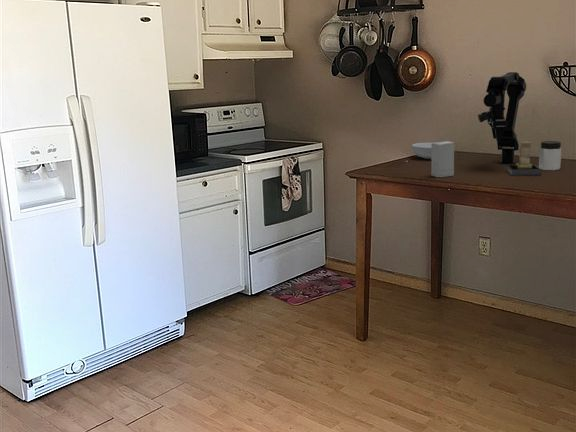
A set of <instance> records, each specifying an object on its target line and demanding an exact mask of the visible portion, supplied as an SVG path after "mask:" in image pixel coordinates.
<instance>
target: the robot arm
mask: <svg viewBox="0 0 576 432" xmlns="http://www.w3.org/2000/svg"><path fill="white" fill-rule="evenodd" d="M526 91H527V83H526V80H525V79H524V78H523V77H522V76H520V74H519V72H513V71H510V72H507V73H505V74H503V75H501V76H491V77H490V79H489V81H488V83H487V88H486V91H485V92H486V93H487V94H486V95H485V96H484V98H483V104H484V106H485V107H488V108H489V109H488V110H487V111H483V112H481V113H479V114H477V115H476V116H477V118H478V121H479V123H483V122H485V121H486V122H487V124H488V125H489V126H490V129H491V133H492V138H493V139H494V140H496V145H497V150H501V159H500V160H499V163H501V164H516V163H517V162H516V161H515V152H516V151H520V143H519V141H518V136H517V132H515V129H516V128H515V126H516V121H517V117H518V110H519V105H520V101H521V100H522V98H523V97H524V96H525V92H526ZM506 94H507V96H508V103H507V109H506V107H505V102H506V101H505V99H506V96H505V95H506ZM505 111H506V114H505ZM505 115H506V116H505Z"/></svg>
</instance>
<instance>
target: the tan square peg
mask: <svg viewBox="0 0 576 432" xmlns="http://www.w3.org/2000/svg"><path fill="white" fill-rule="evenodd" d="M518 151H519V156H518V163H519V165H529V163H531V159H530V158H531V142H530V141H520V142H519V150H518Z"/></svg>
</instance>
